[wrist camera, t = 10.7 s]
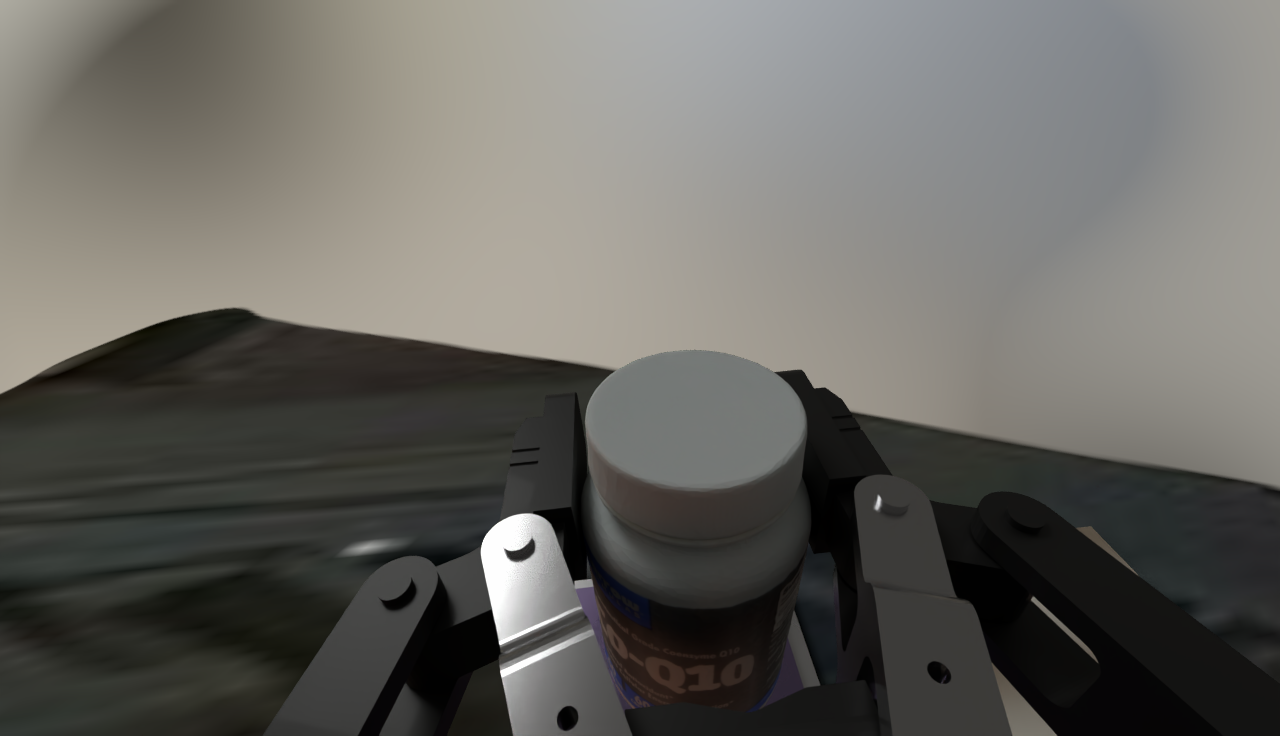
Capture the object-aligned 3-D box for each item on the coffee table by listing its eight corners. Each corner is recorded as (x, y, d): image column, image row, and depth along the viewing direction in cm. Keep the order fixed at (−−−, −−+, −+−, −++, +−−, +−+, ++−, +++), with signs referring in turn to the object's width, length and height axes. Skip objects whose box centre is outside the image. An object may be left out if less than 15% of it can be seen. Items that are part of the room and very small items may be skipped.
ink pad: (909, 966, 14) (923, 959, 13) (538, 1021, 13) (527, 1017, 12) (774, 568, 23) (777, 548, 23) (557, 593, 23) (552, 574, 22)
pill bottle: (577, 701, 13) (507, 467, 8) (642, 549, 16) (620, 324, 12) (766, 779, 11) (819, 548, 7) (793, 593, 15) (839, 354, 10)
